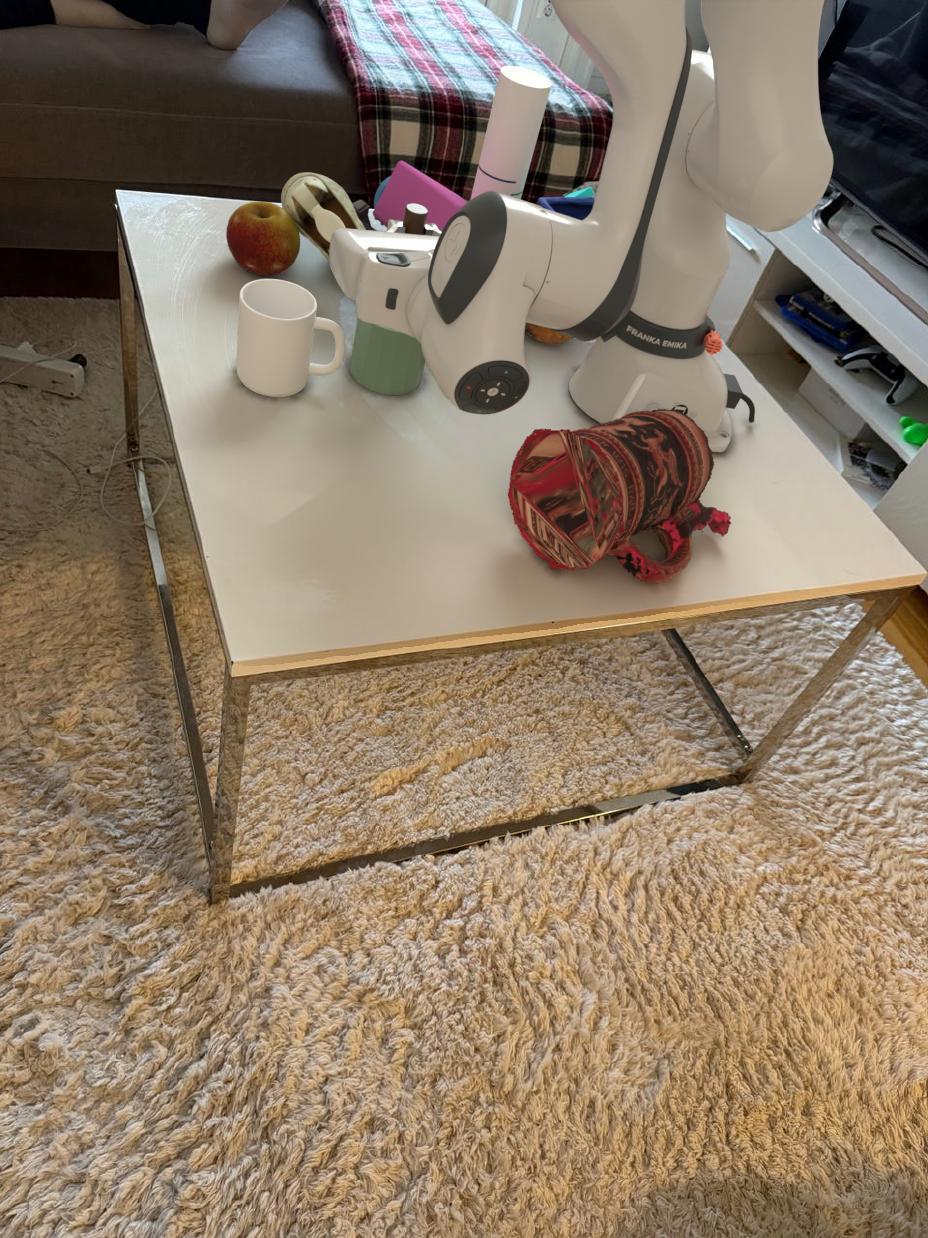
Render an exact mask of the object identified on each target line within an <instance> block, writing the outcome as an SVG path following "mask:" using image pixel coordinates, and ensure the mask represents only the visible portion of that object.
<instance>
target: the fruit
mask: <svg viewBox="0 0 928 1238" xmlns="http://www.w3.org/2000/svg"><path fill="white" fill-rule="evenodd" d="M225 232H226V235H225V236H226V243H227V247H228V250H229V252H230V254H231V256H232V257H233V259H234V261H235V262H236V263H237V264H238V265H239V266H240V267H241V268H243V269H244V270H246V271H248V272H249V273H251V274H253V275H257V276H263V277H268V276H276V275H279V274H282V273H284V272H285V271H287V270H288V269H289V268H290V267H292V265H293V264H294V263H295V262H296V260H297V259H298V256H299V253H300V250H301V234H300V233H299V230H298V228H297V225H296V223H295V221H294V219H293V218H292V216H291V215H290V214H289V213H288V212H287V211H286V210H285V209H283V208H282V206H280V205H277V204H275V203H272V202H267V201H250V202H246V203H243V204H242V205H240V206H239V207H237V208H236V209H235V210H234V211H233V213H232V214H230V217H229V219H228V222H227V225H226V231H225Z"/></svg>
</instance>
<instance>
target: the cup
mask: <svg viewBox="0 0 928 1238" xmlns="http://www.w3.org/2000/svg"><path fill="white" fill-rule="evenodd" d="M317 309H318V303H317V300H316V298H315V297H314V295H313V294H312V293H311V292H310V291H309V290H308V289H306V288H305V287H303V286H301V285H299V284H297V283H294V282H291V281H287V280H284V279H277V278H260V279H255V280H252V281H249V282H247V283H246V284H244V285H243V286H242V287H241V289H240V291H239V300H238V323H237V341H236V342H237V343H236V344H237V345H236V361H235V362H236V374H237V377H238V379H239V381H240V382H241V383H242V385H243V386H245V387H246V389H248V390H250V391H251V392H254V393H256V394H258V395H260V396H261V395H262V396H265V397H270V398H286V397H291V396H294V395H297V394H298V393H300V392H301V391H302V390H303V389H305V387H306V385H307V384H308V380H309V375H313V376H328V375H331V374H334V373H335V372H336V371H338V369H340V367H341V366H342V364H343V361H344V358H345V353H346V339H345V334H344V331H343V329H342V327H341V326H340V325H339V324H338V323H337V322H336V321H335V320H332V319H330V318H327V317H319V316H317ZM315 330H320V331H328V332H331V334H332V335H333V337H334V341H335V352H334V356H333V359H332V360H331V362H329V363H327V364H319V363H314V362H311V359H312V351H313V344H314V343H313V342H314V334H315Z"/></svg>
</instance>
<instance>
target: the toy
mask: <svg viewBox="0 0 928 1238" xmlns="http://www.w3.org/2000/svg"><path fill="white" fill-rule="evenodd" d="M467 202H468V201H467V200H466V199H464V198H463V197H461V196H460V195H459V194H458V193H457V194H456V192H454V191H452V190H450V189H449V188H448V187H446V186H445V185H443V184H441V183H439V182H438V181H436V180H434V179H433V178H431V177H429V176H428V175H426V174H425V173H423V172H421V171H420V170H419V169H417V168H416V167H414V166H412V165H410V164H409V163H407V162H406V161H404V160H399V161H398V162H397V163H396V165H395V167H394V169H393V171H392V173H391V175H390V176H388V177H386V178H385V179H384V180H383V181H382V182H381V183H380V184H379V186H378V188H377V189H376V192H375V195H374V200H373V208H374V209H373V211H372V216H373V218H374V220H375V221H378V222H379V225H380V226H384V227H386V228H387V227H388V221H389V220H399V221H403V219H404V214H405V209H406V205H407V204H411V203H414V204H419V205H422V206H424V207H425V208H426V209H427V210H428V214H427V219H426V223H433V224H436V226H437V228H438V230H440V231H442V230H443V229H444V227H445V225H446V223H447V222H448V220H449V219H450V218H451V217H452V216H453V215H454V214H455V213H456V212H457V211H458V210H459V209H460V208H461V207H463V206H464V205H465V204H466V203H467Z"/></svg>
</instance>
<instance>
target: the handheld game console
mask: <svg viewBox="0 0 928 1238" xmlns="http://www.w3.org/2000/svg"><path fill="white" fill-rule="evenodd" d="M593 195H594V192H593V190H592V187H589V188H586V189H582V190H579V191H576V192H573V193H570V194H568V195H567V196H565V197H587V198H589V197H591V196H593Z"/></svg>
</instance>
